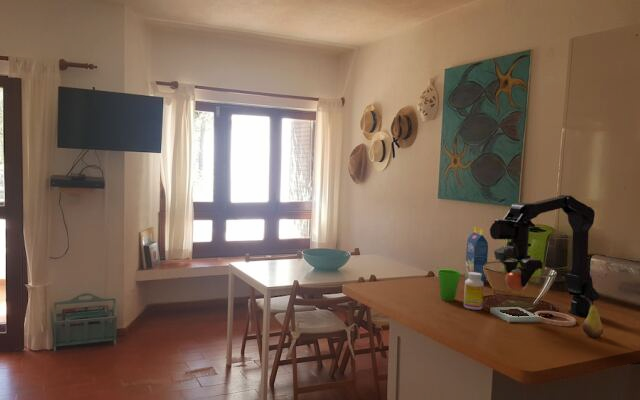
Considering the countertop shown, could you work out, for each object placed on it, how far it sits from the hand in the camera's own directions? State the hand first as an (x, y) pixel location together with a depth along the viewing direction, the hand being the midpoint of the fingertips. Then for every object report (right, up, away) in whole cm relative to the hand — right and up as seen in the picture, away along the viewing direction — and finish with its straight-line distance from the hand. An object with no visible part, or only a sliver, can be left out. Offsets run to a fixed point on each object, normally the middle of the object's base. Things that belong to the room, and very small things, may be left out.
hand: (516, 284), depth 166 cm
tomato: (0, -2, 0) cm, 2 cm away
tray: (-1, -12, +1) cm, 12 cm away
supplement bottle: (-12, -11, +11) cm, 19 cm away
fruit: (+17, -14, -16) cm, 27 cm away
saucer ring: (+13, -12, -1) cm, 18 cm away
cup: (-18, -10, +21) cm, 30 cm away
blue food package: (+5, -9, +59) cm, 60 cm away
